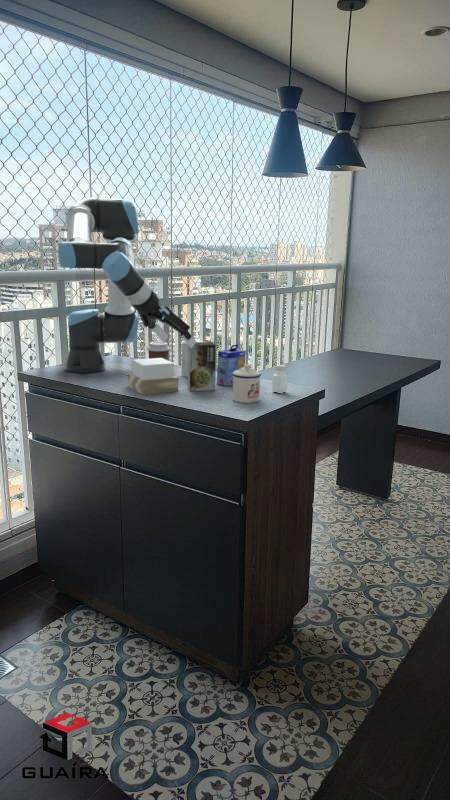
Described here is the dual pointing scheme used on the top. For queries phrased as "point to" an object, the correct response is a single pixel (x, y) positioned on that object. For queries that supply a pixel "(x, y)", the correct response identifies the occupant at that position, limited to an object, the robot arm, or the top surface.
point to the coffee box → (201, 366)
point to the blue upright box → (229, 364)
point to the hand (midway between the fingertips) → (179, 342)
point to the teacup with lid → (246, 385)
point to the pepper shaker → (279, 380)
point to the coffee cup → (158, 350)
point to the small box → (185, 358)
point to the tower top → (152, 368)
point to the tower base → (152, 385)
